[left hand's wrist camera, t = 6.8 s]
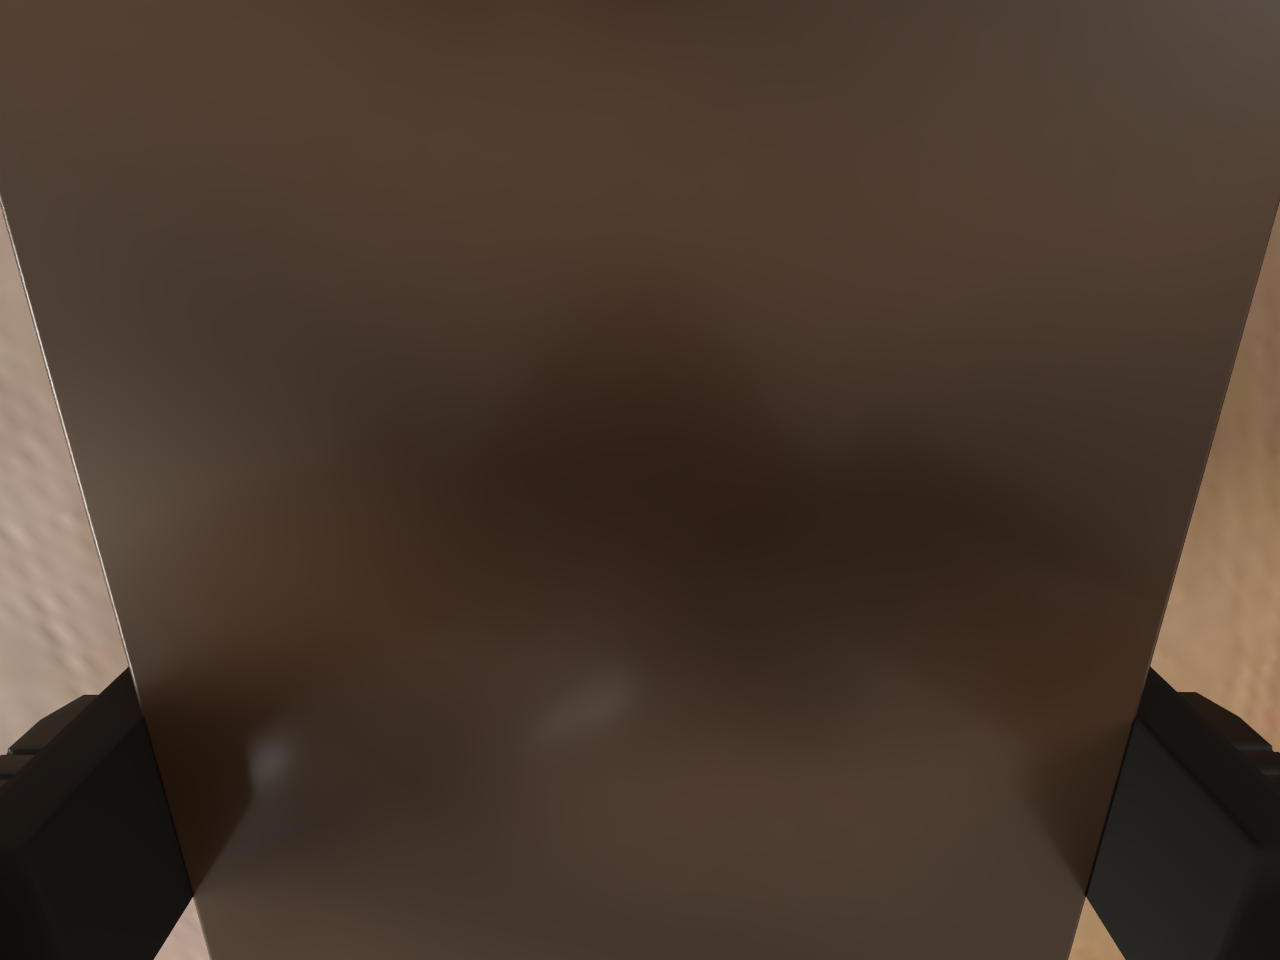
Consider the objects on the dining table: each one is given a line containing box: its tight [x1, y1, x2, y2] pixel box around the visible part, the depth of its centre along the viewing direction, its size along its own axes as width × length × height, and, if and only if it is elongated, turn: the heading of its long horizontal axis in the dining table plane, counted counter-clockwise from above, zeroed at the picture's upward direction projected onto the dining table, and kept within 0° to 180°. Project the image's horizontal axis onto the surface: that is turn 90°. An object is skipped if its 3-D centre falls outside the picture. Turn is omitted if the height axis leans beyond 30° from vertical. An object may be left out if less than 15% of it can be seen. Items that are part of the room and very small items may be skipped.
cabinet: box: [0, 0, 1280, 960], centre depth 12 cm, size 16×11×10 cm
